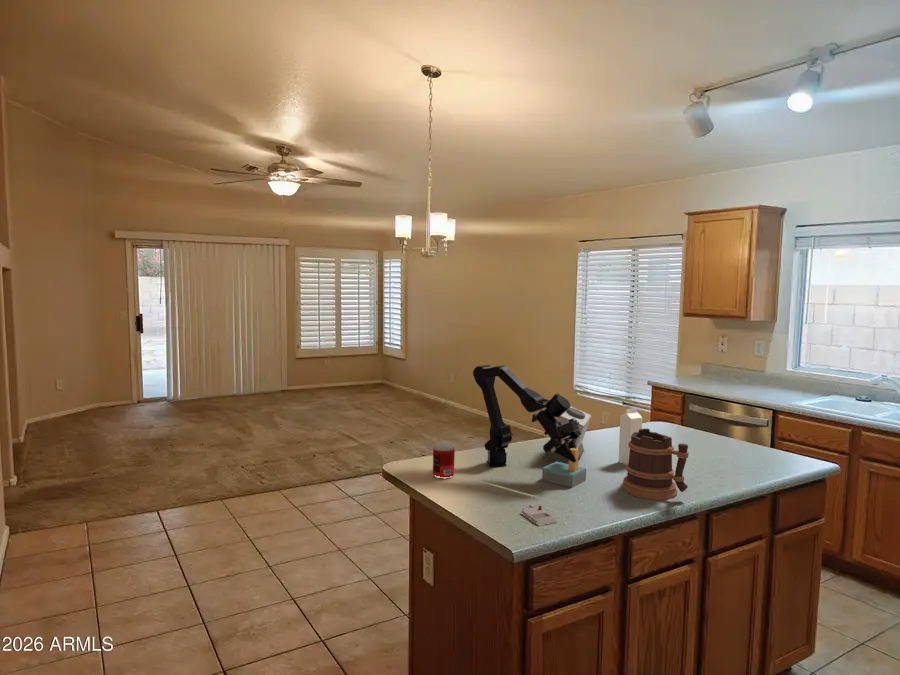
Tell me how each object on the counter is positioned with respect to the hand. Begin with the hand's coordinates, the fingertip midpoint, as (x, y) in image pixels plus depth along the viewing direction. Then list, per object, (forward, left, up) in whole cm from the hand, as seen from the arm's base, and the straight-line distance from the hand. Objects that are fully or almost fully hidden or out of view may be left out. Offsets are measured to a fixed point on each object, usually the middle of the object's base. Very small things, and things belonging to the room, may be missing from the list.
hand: (577, 461), depth 201 cm
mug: (+24, -11, -9) cm, 28 cm away
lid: (-3, +4, -6) cm, 7 cm away
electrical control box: (-24, -24, -9) cm, 35 cm away
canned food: (-44, +17, -9) cm, 48 cm away
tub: (-3, +4, -9) cm, 10 cm away
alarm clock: (+11, +33, -9) cm, 36 cm away
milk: (+32, +20, -9) cm, 39 cm away
